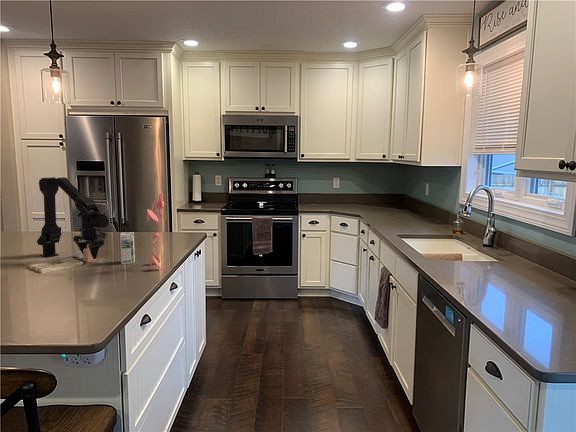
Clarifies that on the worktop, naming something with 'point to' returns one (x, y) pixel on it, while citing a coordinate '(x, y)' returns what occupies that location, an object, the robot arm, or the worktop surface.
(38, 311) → the worktop surface
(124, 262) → the syrup box
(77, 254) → the short peg
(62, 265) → the hole board
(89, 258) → the tall peg
